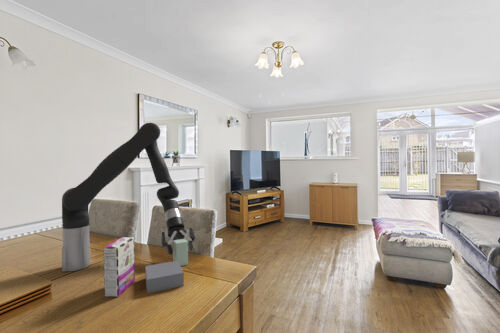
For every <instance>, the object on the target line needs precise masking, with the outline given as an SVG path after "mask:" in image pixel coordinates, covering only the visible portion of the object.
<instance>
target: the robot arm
mask: <svg viewBox="0 0 500 333" xmlns="http://www.w3.org/2000/svg"><path fill="white" fill-rule="evenodd" d="M160 136H161V128H160V127H159V125H157V123H155V122H146V123H143V125H141V126H140V128H139V129H138V131H137V132H135V134H134V135H133V136H132V137H131V138H130V139H128V140H127V141H126V142H124V143H123V144H121V145H120V146H118V147H117V148H116V149H114V150H113V151H112V152H111V153H110V154H108V155H107V156H106V157H105V158H104V159H103V160H101V162H100V163H99V164H98V165H97V166H96V167H95V169H94V170H93V171H92V172H91V174H90V175H89V176H88V177H87V178H86V179H84V180H83V181H82V182H80V184H78V185H77V186H75V187H71V188H69V189H67V190H66V191H65V192H63V195H62V197H61V216H62V217H61V222H62V225H61V226H62V247H61V272H62V273H64V272H76V271H79V270H83V269H85V268H87V267H89V266H90V258H91V256H90V255H91V254H90V248H91V247H90V245H91V244H90V243H91V242H90V216H89V215H90V213H89V205H90V204H91V203H92V202H93V200H94V199H95V197H97V195H99V193H100V192H101V191H102V190H103V189H104V188H105V187H106V186H108V185H109V184H110V183H112V182H113V181H114V180H116V178H117V177H119V176H120V175H121V174H122V173H123V172H124V171H125V170H126V169H127V168H129V166H130V165H131V164H132V163H133V162H134V161H135V160H136V159H137V157H138V156H139V155H140V154H141V153H142V152H143V150H145V153H146V154H147V157H148V161H149V164H150V165H151V166H150V167H151V169H152V172H153V175H154V178H155V181H156V183H157V184H168V185H167V186H164V187H160V188H159V189H157V191H156V197H157V199H158V200H159V203H161V206H162V208H163V211H164V219H165V220H164V221H165V224H166V230H167V232H165V231H162V232H161V235H160V238H161V247H163V248H164V247H165V248H167V253H168V254H169V255H170V256H171V255H172V256H173V246H172V244H173V240H179V239H186V240H187V241H188V251H189V252H192V250H193V249H194V245H193V242H195V240H196V235H195V232H194V230H193V228H192V227H189V229H188V228H187V229H186V227H185V223H184V219H183V216H182V213H181V210H180V205H179V202H178V201H177V200H175V199H177V198H178V197H179V195H180V191H179V189H178V187H177V186H176V184H175V182H174V181H173V179H172V178H171V176H170V171H169V168H168V166H167V163H166V161H165V159H164V158H163V156H162V154H161V152H160V149H159V147H158V139H159V138H160ZM167 237H169V239H168V241H166V238H167Z"/></svg>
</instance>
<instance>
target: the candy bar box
mask: <svg viewBox="0 0 500 333" xmlns="http://www.w3.org/2000/svg"><path fill="white" fill-rule="evenodd" d="M135 264H136V263H135V237H134V236H133V237H131V236H130V237H129V236H127V237H126V236H123V237H120V238H119V239H116V240H115V241H113V242H112V243H110V244H107V245H106V246H105V247H103V268H104V269H103V270H104V272H103V276H104V297H107V298H113V297H114V298H116V297H117V298H118V297H119V298H120V296H121V295H123V293H124V292H125V291H126V290H127V289H128V288H129V287H130V286H132V285H133V283H134V282H136V278H135V275H136V274H135V272H136V271H135V270H136V269H135Z"/></svg>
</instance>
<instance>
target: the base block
mask: <svg viewBox="0 0 500 333" xmlns="http://www.w3.org/2000/svg"><path fill="white" fill-rule="evenodd" d="M144 268H145V271H144V272H145V286H146V294H152V293H156V292H161V291H165V290H170V289H175V288H179V287H184V286H185V285H184V280H185V278H184V276H185V275H184V271H183V268H182V266H180V264H179V262H178V261H169V262H161V263H156V264H150V265H145V267H144Z"/></svg>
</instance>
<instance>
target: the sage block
mask: <svg viewBox="0 0 500 333" xmlns="http://www.w3.org/2000/svg"><path fill="white" fill-rule="evenodd" d="M172 245H173V246H172V251H173V253H172V258H173V261H178V262H179V264H180V266H181V267H183V266H184V267H185V266H188V265H189V246H188V241H187V240H186V239H179V240H173V241H172ZM173 261H172V262H173Z"/></svg>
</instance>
